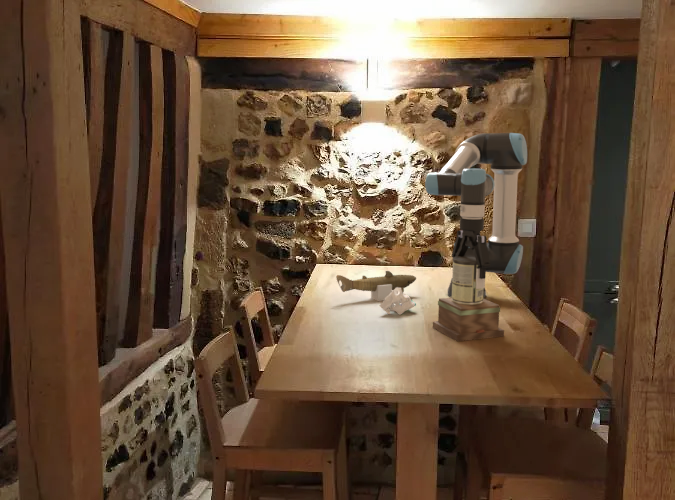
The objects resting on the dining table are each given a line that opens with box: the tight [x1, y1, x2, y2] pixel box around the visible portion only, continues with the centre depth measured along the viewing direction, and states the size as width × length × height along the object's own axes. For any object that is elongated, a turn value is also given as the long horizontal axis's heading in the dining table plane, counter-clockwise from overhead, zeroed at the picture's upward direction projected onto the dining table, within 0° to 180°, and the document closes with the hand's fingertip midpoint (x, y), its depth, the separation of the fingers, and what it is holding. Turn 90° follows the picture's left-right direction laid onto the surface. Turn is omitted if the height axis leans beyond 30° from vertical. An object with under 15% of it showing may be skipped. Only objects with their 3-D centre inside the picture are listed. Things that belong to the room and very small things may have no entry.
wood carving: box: [335, 270, 417, 302], centre depth 247 cm, size 9×35×11 cm, turn 114°
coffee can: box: [451, 256, 484, 305], centre depth 203 cm, size 10×10×14 cm
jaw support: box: [379, 287, 417, 316], centre depth 229 cm, size 12×9×10 cm
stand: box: [432, 297, 505, 342], centre depth 204 cm, size 17×16×10 cm
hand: (469, 284), depth 202 cm, fingers open, 12 cm apart
